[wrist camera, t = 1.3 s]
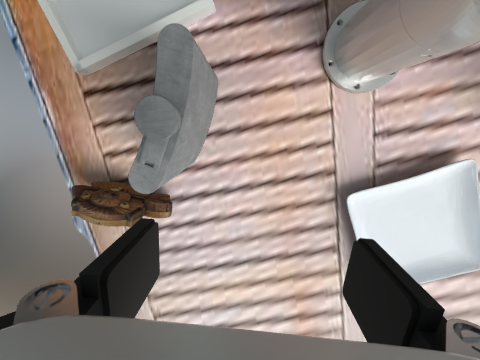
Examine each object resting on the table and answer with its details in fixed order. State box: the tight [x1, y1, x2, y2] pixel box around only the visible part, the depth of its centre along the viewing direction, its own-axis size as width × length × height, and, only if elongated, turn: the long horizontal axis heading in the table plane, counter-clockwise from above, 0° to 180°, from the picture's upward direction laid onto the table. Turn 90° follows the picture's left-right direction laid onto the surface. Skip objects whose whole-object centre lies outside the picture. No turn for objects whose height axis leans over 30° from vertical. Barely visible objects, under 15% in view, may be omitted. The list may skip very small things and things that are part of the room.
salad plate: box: [346, 159, 480, 284], centre depth 40 cm, size 21×21×3 cm
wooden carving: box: [71, 182, 172, 227], centre depth 36 cm, size 16×5×10 cm, turn 84°
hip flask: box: [128, 23, 218, 194], centre depth 28 cm, size 16×4×20 cm, turn 161°
